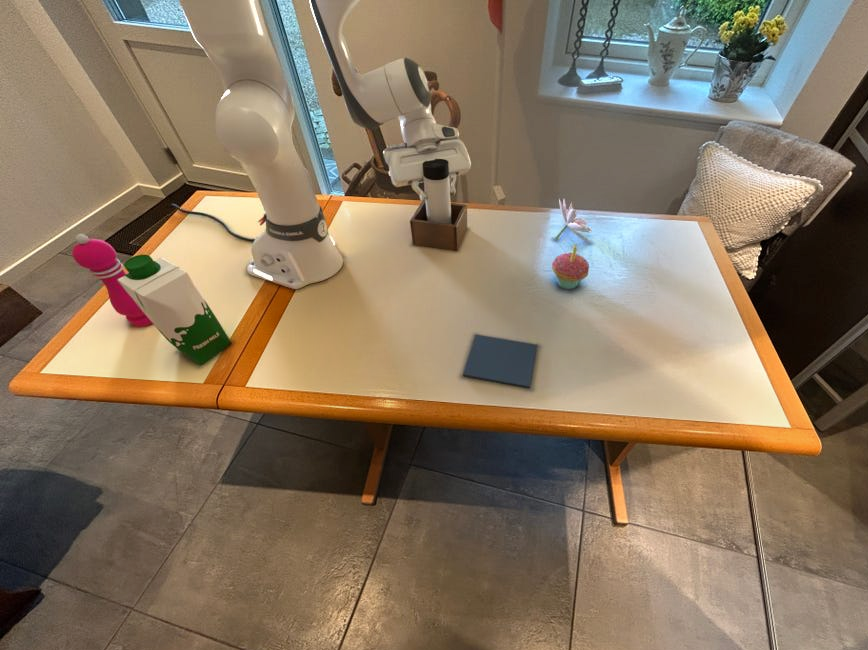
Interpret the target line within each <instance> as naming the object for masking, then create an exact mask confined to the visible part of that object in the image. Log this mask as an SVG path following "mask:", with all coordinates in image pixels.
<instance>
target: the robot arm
mask: <svg viewBox="0 0 868 650" xmlns="http://www.w3.org/2000/svg"><path fill="white" fill-rule="evenodd" d="M178 1H179V4H180V7H181V10H182V11H183V12H182V13H183V14H184V17H185V19H186V22H187V25H188V27H189V29H190V32H191V34H192V36H193V38H194V40H195V41H196V43H197V44H198V45H199V46H200V47H201V48H202V49H203V51H204V52H205V54H206V55H207V57H208V59H209V61H210V62H211V64H212V66H213V67H214V69H215V71H216V74H217V75H218V77H219V79H220V81H221V85H222V88H223V93H224V94H223V96H222V97H221V98H220V100H219V101H218V103H217V105H216V109H215V119H214V121H215V122H214V123H215V125H214V126H215V133H216V137H217V140H218V142H219V143H220V145H221V147H222V149H224V151H225V152H226V153H227V154H228V155H229V156H230V157H231V158H233V159H235V160H236V161H237V162H238V164H239V165H240V166H241V168H242V169H243V171H244V172H245V174H246V175H247V176H248V178H249V180H250V182H251V183H252V185H253V187H254V189H255V191H256V193H257V196H258V199H259V201H260V203H261V206H262V207H263V210H264V213H263V216H262V217H260V219H259V220H258V221H257V222H258V223H259V226H262V225H264V224H265V228H264V229H263V231H261V233H260V234H258V235H257V236H256V237H255V238H249V237H245V236H242V235H239V234H237V233H235V232H233V231H232V230H231V229H230V228H229V227H228V225H227V224H226V223H225V222H224V221H223V220H221V219H219V218H218V217H216V216H214V215H212V214H209V213H206V212H200V211H192V210H186V209H185V208H184V209H183V208H182V207H180V206H178V205H177V204H175V203H171V204H170V205H169V208H170V209H173V208H175V209H176V210H178V211H180V212H181V213H184V214H190V215H195V216H196V215H197V216H204V217H206V218H210V219H212V220H214V221H215V222H217V223H219V224H220V225H221V226H223V228H224V229H225V230H226V232H227V233H228V234H229V235H231V236H232V237H234V238H237V239H239V240H242V241H245V242H249V243H250V242H252V245H251V249H250V251H251V256H252V257H251V258H250V260H249V261H248V264H247V267H246V271H247V274H248V275H250V276H253V277H256V278H259V279H262V280H265V281H268V282H271V283H274V284H277V285H280V286H283V287H286V288H289V289H292V290H298V289H299V290H300V289H301V288H303V287H305V286H307V285H311V284H314V283H319V282H323V281H325V280H327V279H329V278H332V277H333V276H335V275H336V274H337V273H338V272H339V271H340V270H341V268H342V267H343V263H344V258H343V256H342V255H341V253H340V252H339V250H338V249H337V247H336V242H335V241H334V239H333V237H332V236H331V235H330V233H329V230H328V223H327V220H326V217H325V213H324V211H323V208H322V206H321V205H320V204H319V201H318V198H317V194H316V191H315V188H314V184H313V181H312V178H311V175H310V173H309V171H308V169H307V168H305V165H304V164H303V162H302V160H301V158H300V156H299V153H298V152H297V150H296V146H295V144H294V139H293V135H292V128H293V127H292V126H293V123H294V120H295V115H296V114H295V113H296V108H295V102H294V99H293V96H292V92H291V90H290V88H289V86H288V82H287V79H286V76H285V75H284V72H283V69H282V66H281V64H280V63H281V62H280V61H279V59H278V56H277V54H276V52H275V49H274V46H273V44H272V41H271V38H270V36H269V33H268V32H269V31H268V29H267V26H266V23H265V18H264V15H263V12H262V9H261V6H260V5H261V4H260V2H259V0H178ZM359 2H361V0H309V4H310V9H311V12H312V15H313V18H314V21H315V23H316V27H317V29H318V31H319V32H318V33H319V35H320V38H321V40H322V43H323V46H324V49H325V51H326V53H327V56H328V58H329V61H330V64H331V66H332V69H333V72H334V75H335V77H336V79H337V82H338V85H339V87H340V90H341V93H342V96H343V100H344V104H345V107H346V111H347V113H348V115H349V117H350V118H351V120H352V122H353V123H354V124H356V126H358V127H360V128H363V129H366V130H368V131H373V130H374V129H377V128H379V127H380V126H382V125H385V123H387V122H390V121H392V120H395V119H398V122H399V124H400V133H401V136H402V140H403V143H398V144H389V145H387V146H386V148H384V149H383V152H382V155H383V156H382V157H383V159H384V161H385V163H386V165H388V171H389V176H390V180H391V184H392V185H393V186H394V187H396V188H401V187H405V186H411V188H412V190H413V191H414V192H415V193H416V194H417V195H418V196H419V200H420V201H421V202H422V201H425V200H427V199H428V197H427V195H426V191H425V190H422V189H421V188H420V187H419V185H420V184H422V183H424V179H423V178H424V177H423V165H422V164H423V162H425V161H430V160H434V159H445V160H447V161H448V162H449V178H450V196H454V195H456V193H457V190H456V182H457V177H459V176H464V175H467V174H468V173H469V171H470V170H471V167H472V162H471V159H470V155H469V152H468V150H467V147H466V146H465V144H464V142H463V141H462V139H460V138H459V136H460V132H459V129H458V128H456V127H453V126H447V125H442V124H440V123H437V121H436V118H435V117H434V116H433V113H432V104H431V101H432V93H431V89H430V86H429V83H428V79H427V76H426V73H425V71H424V69H423V67H422V66H421V65H420V64H419V63H417V62H416V61H415V60H413V59H410V58H408V57H402V58H399V59H396V60H393V61H391V62H389V63H387V64H386V63H385V64H384V65H383V66H380V67H378V68H375V69H373V70H371V71H368V72H366V73H359V72H358V71H357V70H356V68H355V67H356V66H355V64H354V61H353V58H352V56H351V52H350V50H349V46H348V44H347V40H346V37H345V35H344V31H343V28H344V25H345V22H346V20H347V18H348V17H349V16H350V14H351V13H352V11H353V10H354V9H355V8H356V7H357V5H358V4H359ZM180 208H181V209H180Z"/></svg>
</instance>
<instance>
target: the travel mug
mask: <svg viewBox="0 0 868 650" xmlns="http://www.w3.org/2000/svg"><path fill="white" fill-rule="evenodd" d="M422 165H423V177H424V178H423V179H424V182H423V187H424V188H423V189H424V191H426V195H427V197H428V199H427V200H426V211H427V221H429V222H436V223H444V224H451V203H452V202H451V195H450V186H451V181H450V178H449V162H448V161H447V160H445V159H434V160H430V161H425V162H423V164H422Z"/></svg>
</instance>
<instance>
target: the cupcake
mask: <svg viewBox="0 0 868 650" xmlns="http://www.w3.org/2000/svg"><path fill="white" fill-rule="evenodd" d="M577 249H578V246H577V243H575V244H574V246H573V250H572V252H565V253H562V254H560V255H557V256H555V258H554V259H553V261H552V264H551V270H552V272H553V274H555V276H556V280H557V284H558V285H559V287H561V288H563V289H566V290H573V289H575V288H576V287H578V285H579V283H580V282H581V281H582V280H584V279H585V278H586V277H588V275H589V272H590V271H589V270H590V264H589V262H588V260H587V259H586V258H585V257H583V256H581V255H580V254H578V253H577Z"/></svg>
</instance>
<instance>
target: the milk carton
mask: <svg viewBox="0 0 868 650" xmlns="http://www.w3.org/2000/svg"><path fill="white" fill-rule="evenodd" d="M123 268H124V269H125V270H126V271H127V272H128V273H126V275H124V277H121V278H119V279H118V281H119V283H120V284H121V285H122V286H123V288H124V289H125V290H126V292H127V293H128V294H129V295H130V296H131V297H132V299H133V300H134V301H135V302H136V304H137V305H138V306H139V307H140V309H141V310H142V311H143V312H144V313H145V315H146V316H147V317H148V318H149V319H150V321H151V322H152V323H153V324H152V325H153V326H154V327H155V328H156V329H157V330H158V331H159V332H160V334H161V335H162V336H163V337H164V338H165V339H166V341H167V342H169V343H170V344H171V345H172V346H173V347H174V348H175V349H177V350H178V351H179V352H180V353H182V354H183V355H185V356H186V357H188V358H189V359H191V360H193V361H194V362H195V363H197V364H198V365H200V366H202V365H204V364H205V363H206V362H207V361H210V360H211V359H212V358H214V357H215V356H216V355H218V354H219V353H220V352H222V351H223V350H224V349H226V348H227V347H228V348H229V346H230V345H232V344H233V342H232V340H231V339H230V338H229V335H228V334H227V333H226V331H225V329H224V328H223V326H222V325H221V322H220V321H219V319H218V318H217V316H216V315H215V313H214V312H213V310H212V309H211V307H210V306H209V304H208V303H207V301H206V300H205V298H204V297H203V295H202V294H201V292H200V291H199V289H198V288H197V287H196V285H195V284H194V282H193V280H192V278H191V277H190V275H189V273H188V271H186V270H184V269H181V267H180V266H178V265H176V264H174V263H172V262H170V261H168V260H167V259H165V258H162V257H159V258H157V259H155V260H154V259H153V258H152V257H151V255H148V254H137V255H134V256H131V257H129V258H127V260H125V261H124V263H123Z"/></svg>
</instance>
